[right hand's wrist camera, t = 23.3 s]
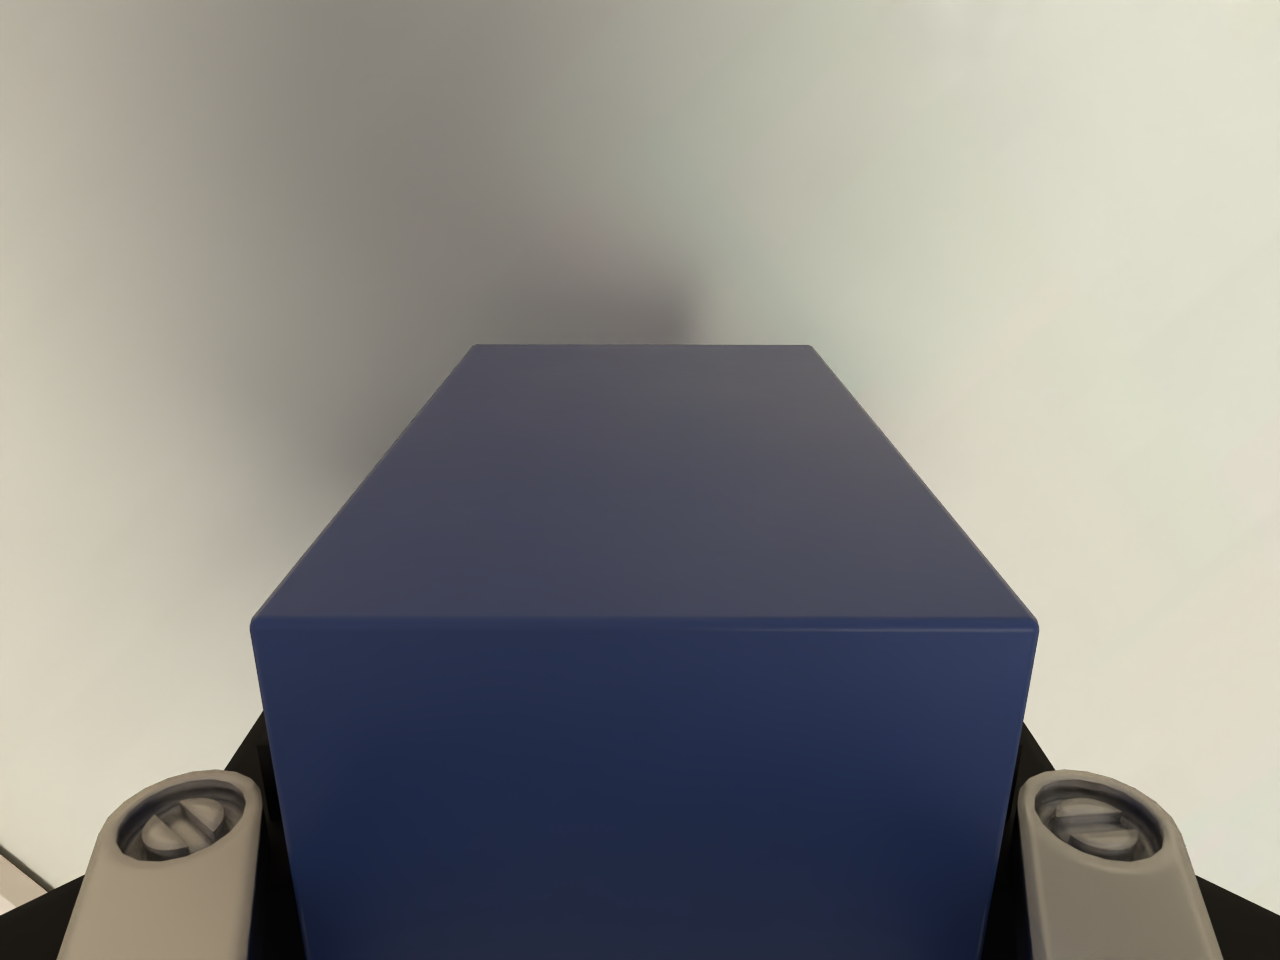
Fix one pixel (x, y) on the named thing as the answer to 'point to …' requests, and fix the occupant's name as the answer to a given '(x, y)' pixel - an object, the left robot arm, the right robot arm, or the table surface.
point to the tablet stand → (15, 887)
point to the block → (643, 676)
